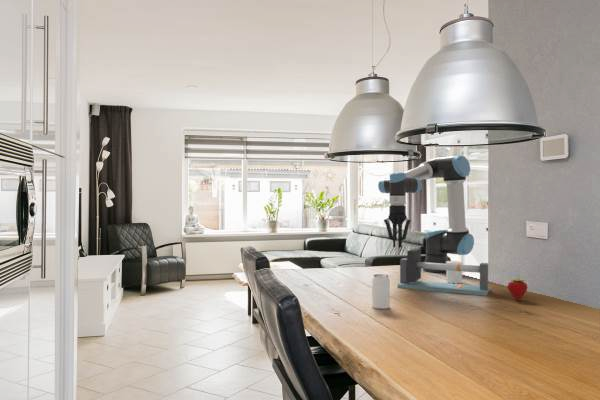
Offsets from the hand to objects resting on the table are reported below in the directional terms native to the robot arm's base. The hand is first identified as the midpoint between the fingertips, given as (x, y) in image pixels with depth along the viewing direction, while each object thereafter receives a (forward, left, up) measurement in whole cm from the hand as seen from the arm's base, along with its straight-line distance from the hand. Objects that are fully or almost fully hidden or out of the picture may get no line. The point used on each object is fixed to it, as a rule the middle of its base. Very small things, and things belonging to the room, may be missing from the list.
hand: (397, 254), depth 215 cm
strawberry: (+10, +52, -15) cm, 55 cm away
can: (+48, +7, -15) cm, 51 cm away
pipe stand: (0, +21, -14) cm, 25 cm away
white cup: (-19, +23, -15) cm, 33 cm away
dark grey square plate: (0, +8, -11) cm, 14 cm away
